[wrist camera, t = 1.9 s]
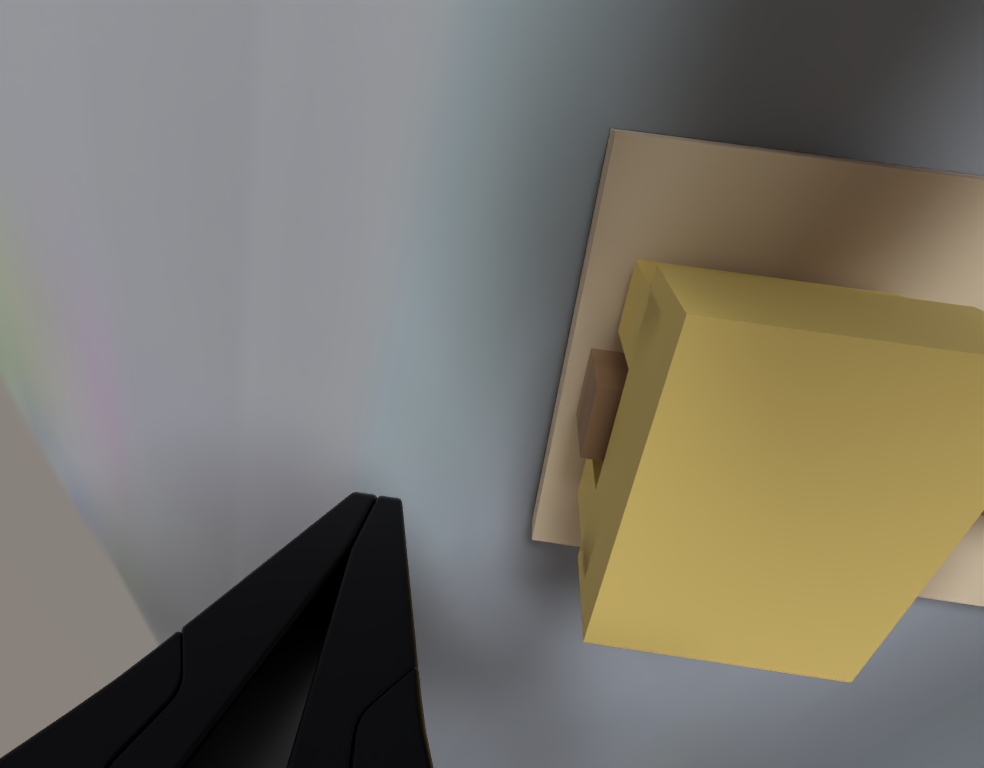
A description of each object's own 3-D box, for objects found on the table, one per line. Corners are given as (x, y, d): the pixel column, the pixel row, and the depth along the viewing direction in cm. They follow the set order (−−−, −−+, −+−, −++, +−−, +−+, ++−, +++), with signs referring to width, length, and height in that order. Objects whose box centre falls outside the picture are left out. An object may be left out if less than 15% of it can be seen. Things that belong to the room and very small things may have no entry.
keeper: (912, 273, 12) (1092, 369, 8) (776, 533, 16) (850, 682, 12) (641, 237, 12) (686, 314, 8) (574, 504, 16) (583, 642, 12)
